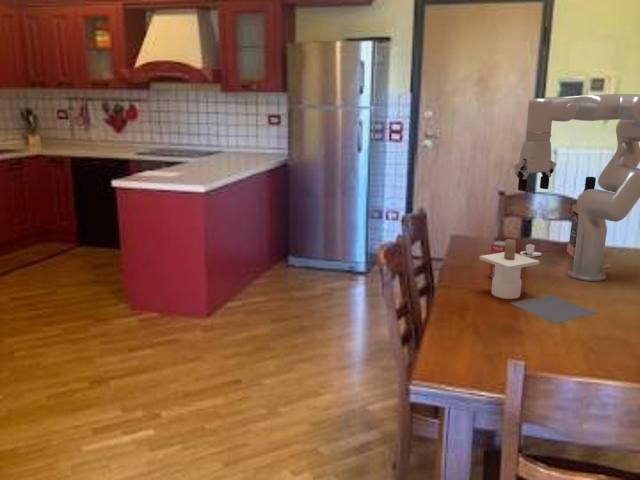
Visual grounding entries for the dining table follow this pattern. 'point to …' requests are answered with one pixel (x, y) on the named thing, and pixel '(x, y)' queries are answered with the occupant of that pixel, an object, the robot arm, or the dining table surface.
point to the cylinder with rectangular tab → (506, 283)
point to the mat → (553, 308)
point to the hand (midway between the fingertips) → (533, 189)
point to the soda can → (495, 248)
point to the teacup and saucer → (531, 251)
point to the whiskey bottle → (574, 226)
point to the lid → (509, 257)
